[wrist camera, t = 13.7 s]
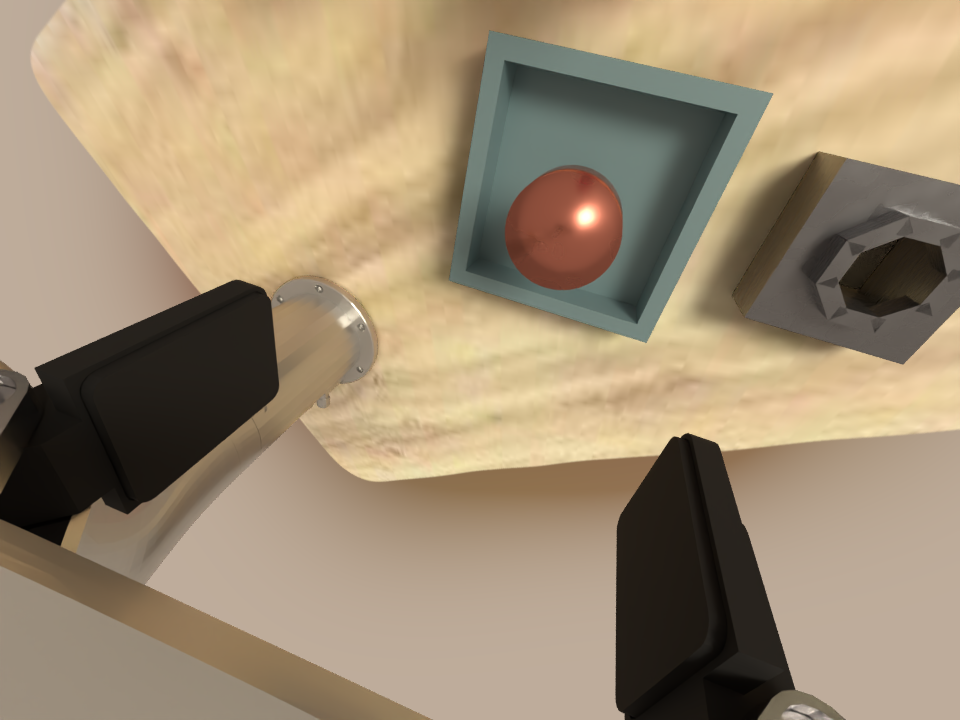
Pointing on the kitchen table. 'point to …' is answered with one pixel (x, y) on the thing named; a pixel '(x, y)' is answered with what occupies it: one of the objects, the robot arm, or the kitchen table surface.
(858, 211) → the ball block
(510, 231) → the rounded copper knob
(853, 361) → the kitchen table surface
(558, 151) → the tray
